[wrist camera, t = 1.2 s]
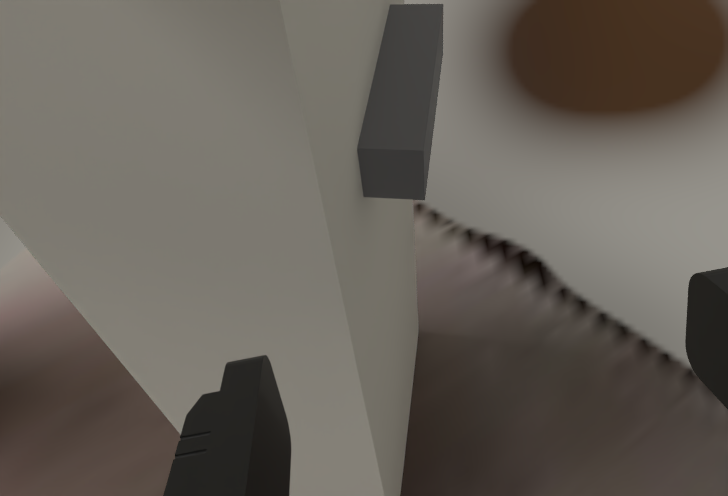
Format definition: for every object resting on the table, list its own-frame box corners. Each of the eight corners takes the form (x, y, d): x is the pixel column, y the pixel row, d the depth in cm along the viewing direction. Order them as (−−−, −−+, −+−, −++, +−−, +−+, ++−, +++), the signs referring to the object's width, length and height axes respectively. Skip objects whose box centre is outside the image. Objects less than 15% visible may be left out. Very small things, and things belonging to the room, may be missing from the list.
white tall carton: (301, 317, 38) (55, -463, 14) (444, 328, 37) (458, -521, 12) (248, 531, 31) (-537, -360, 6) (425, 556, 29) (361, -481, 5)
